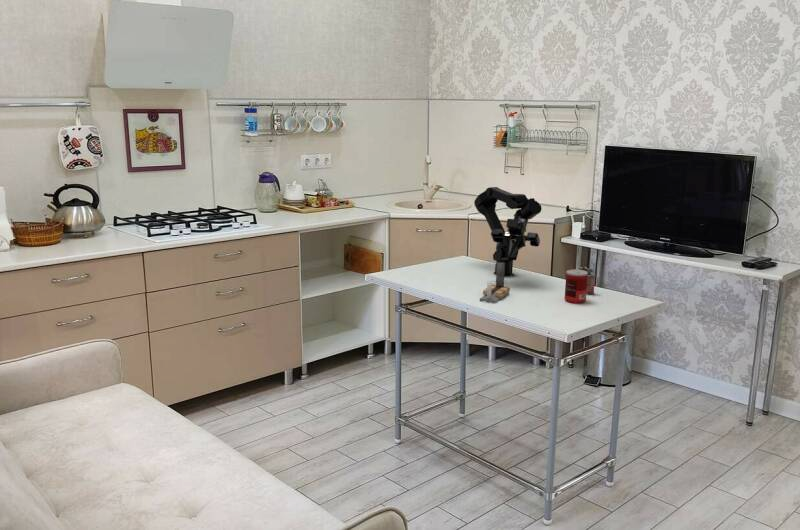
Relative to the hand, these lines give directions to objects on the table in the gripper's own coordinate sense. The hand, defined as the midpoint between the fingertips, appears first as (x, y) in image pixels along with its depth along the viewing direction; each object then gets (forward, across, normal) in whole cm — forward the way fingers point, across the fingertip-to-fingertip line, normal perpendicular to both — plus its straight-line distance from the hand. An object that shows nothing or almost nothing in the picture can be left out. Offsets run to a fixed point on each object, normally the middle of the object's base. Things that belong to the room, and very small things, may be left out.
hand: (509, 255), depth 274 cm
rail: (+20, 0, -2) cm, 20 cm away
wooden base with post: (+18, 0, -1) cm, 18 cm away
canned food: (+13, +28, +6) cm, 31 cm away
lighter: (+4, +28, +15) cm, 32 cm away
